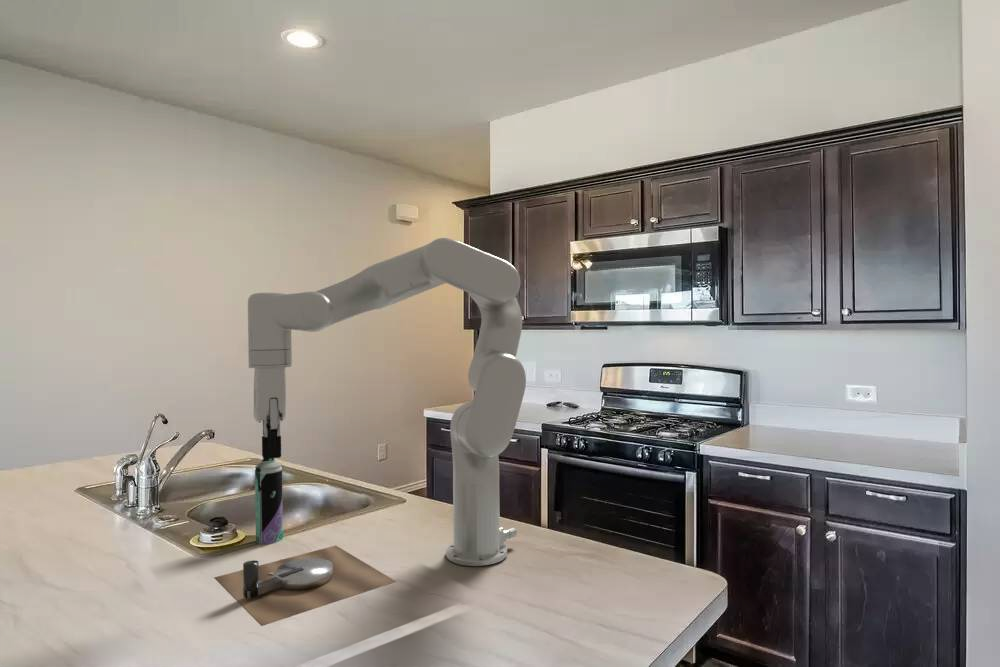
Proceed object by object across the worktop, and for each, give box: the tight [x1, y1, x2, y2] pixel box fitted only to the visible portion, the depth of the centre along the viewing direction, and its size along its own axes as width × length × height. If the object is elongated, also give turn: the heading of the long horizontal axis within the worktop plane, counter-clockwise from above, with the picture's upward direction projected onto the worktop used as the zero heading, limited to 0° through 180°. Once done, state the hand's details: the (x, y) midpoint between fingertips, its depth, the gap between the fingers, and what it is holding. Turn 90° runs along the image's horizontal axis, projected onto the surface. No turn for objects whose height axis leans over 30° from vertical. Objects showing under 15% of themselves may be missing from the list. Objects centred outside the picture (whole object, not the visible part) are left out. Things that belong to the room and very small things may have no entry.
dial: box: [242, 558, 333, 599], centre depth 109 cm, size 16×10×6 cm, turn 139°
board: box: [214, 545, 397, 627], centre depth 111 cm, size 24×24×2 cm
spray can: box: [254, 457, 284, 545], centre depth 132 cm, size 6×6×20 cm
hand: (271, 457), depth 114 cm, fingers closed
